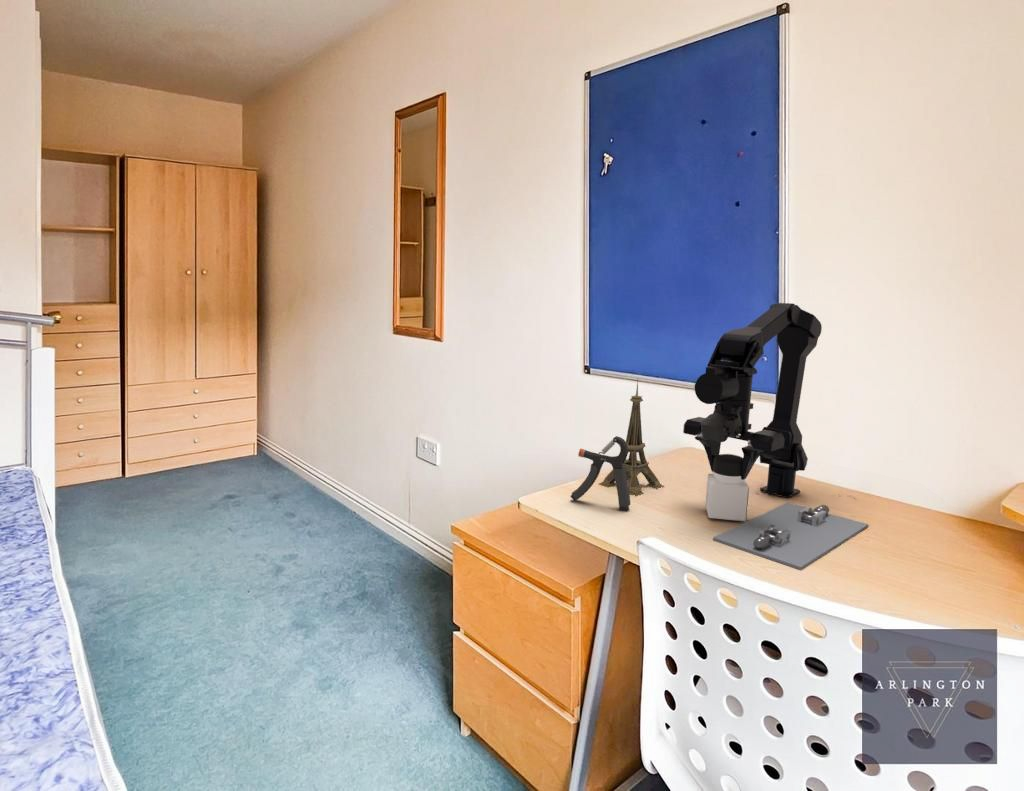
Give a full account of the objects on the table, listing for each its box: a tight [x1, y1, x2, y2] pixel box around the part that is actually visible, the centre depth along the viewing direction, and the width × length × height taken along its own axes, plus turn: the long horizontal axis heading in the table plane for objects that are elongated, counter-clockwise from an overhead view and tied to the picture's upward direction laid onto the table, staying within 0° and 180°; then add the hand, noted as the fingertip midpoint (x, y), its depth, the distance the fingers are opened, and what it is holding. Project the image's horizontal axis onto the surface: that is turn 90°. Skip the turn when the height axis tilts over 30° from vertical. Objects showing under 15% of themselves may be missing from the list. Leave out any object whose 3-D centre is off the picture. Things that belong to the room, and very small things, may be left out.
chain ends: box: [753, 504, 830, 550], centre depth 122 cm, size 29×4×2 cm, turn 132°
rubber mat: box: [712, 502, 869, 571], centre depth 122 cm, size 30×16×1 cm, turn 132°
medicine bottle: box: [705, 453, 750, 522], centre depth 129 cm, size 7×7×12 cm
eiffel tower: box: [598, 379, 665, 497], centre depth 146 cm, size 11×11×25 cm
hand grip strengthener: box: [570, 435, 631, 512], centre depth 133 cm, size 2×12×15 cm, turn 65°
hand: (728, 475), depth 129 cm, fingers closed on medicine bottle, 6 cm apart
